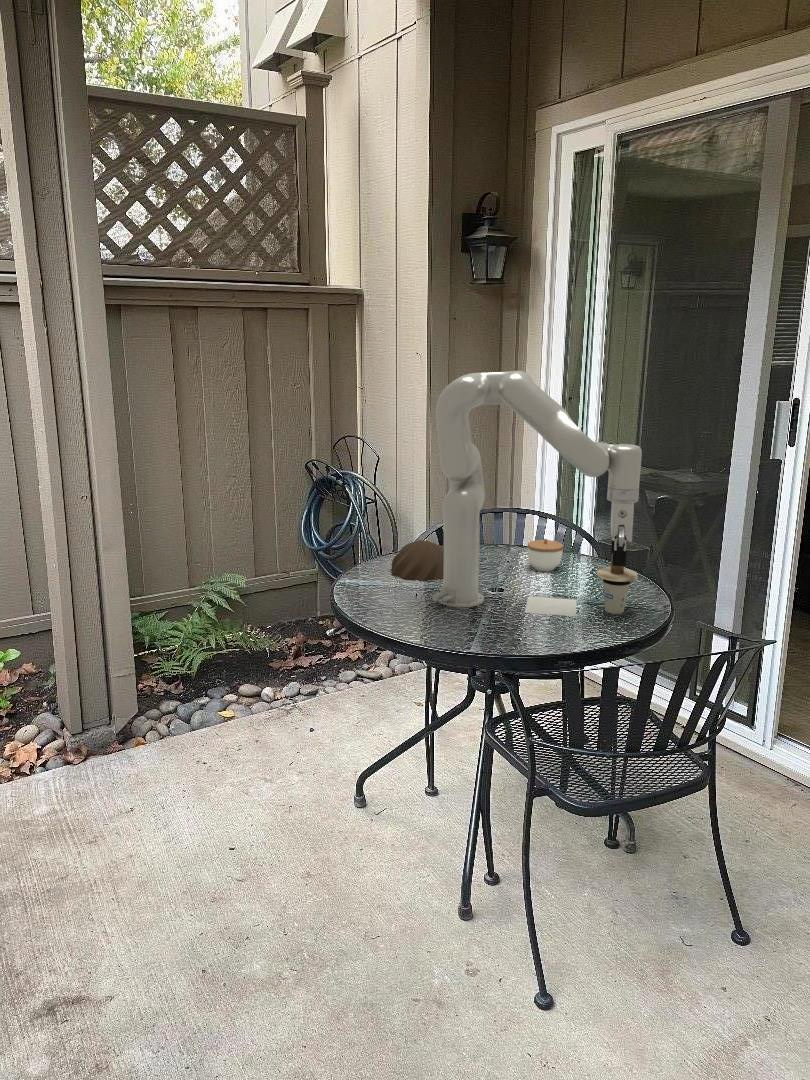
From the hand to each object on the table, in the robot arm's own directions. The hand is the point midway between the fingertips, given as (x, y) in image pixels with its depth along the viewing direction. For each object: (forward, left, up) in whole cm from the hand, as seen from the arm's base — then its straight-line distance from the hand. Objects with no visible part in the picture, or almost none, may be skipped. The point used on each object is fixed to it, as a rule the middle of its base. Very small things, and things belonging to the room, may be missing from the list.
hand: (618, 560), depth 198 cm
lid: (0, 0, -4) cm, 4 cm away
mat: (-8, +14, -14) cm, 21 cm away
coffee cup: (0, 0, -14) cm, 14 cm away
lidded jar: (+21, +35, -14) cm, 43 cm away
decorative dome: (-7, +60, -15) cm, 62 cm away
